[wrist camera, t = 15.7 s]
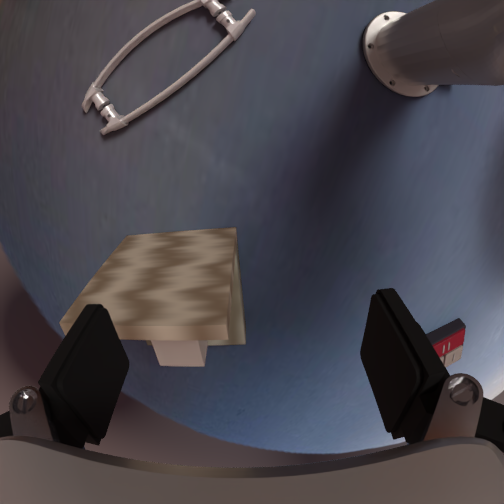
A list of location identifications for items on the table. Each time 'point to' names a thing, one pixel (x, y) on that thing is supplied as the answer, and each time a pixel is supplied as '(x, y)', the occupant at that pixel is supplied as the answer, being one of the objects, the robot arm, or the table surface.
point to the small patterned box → (448, 341)
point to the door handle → (233, 31)
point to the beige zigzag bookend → (171, 288)
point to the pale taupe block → (180, 352)
